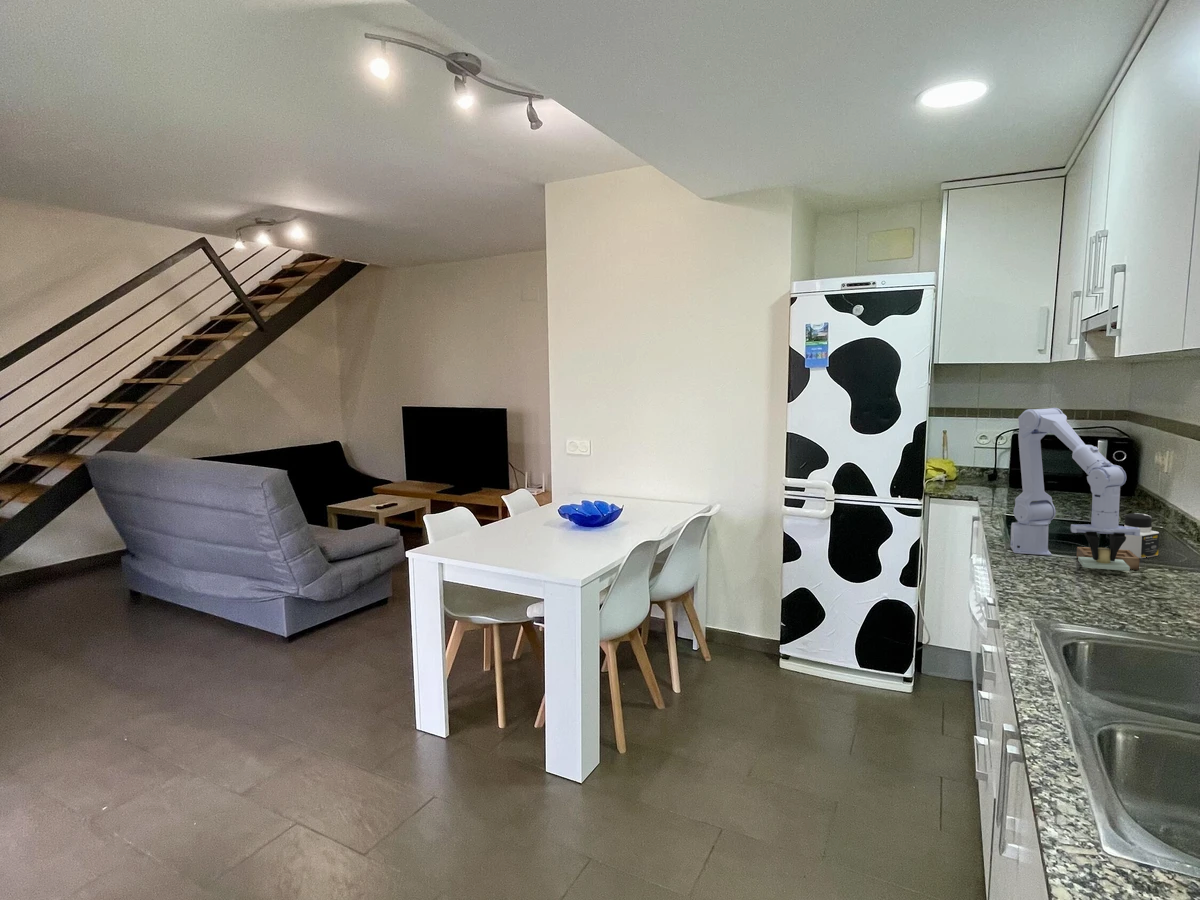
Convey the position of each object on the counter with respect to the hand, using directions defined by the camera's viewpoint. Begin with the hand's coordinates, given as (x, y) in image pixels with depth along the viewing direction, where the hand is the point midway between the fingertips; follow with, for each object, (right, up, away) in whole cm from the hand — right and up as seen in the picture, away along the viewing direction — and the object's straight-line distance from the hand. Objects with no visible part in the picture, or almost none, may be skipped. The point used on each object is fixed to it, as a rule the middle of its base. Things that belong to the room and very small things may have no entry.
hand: (1103, 559), depth 169 cm
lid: (0, -2, 0) cm, 2 cm away
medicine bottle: (+22, -1, +15) cm, 27 cm away
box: (+7, -2, +8) cm, 11 cm away
